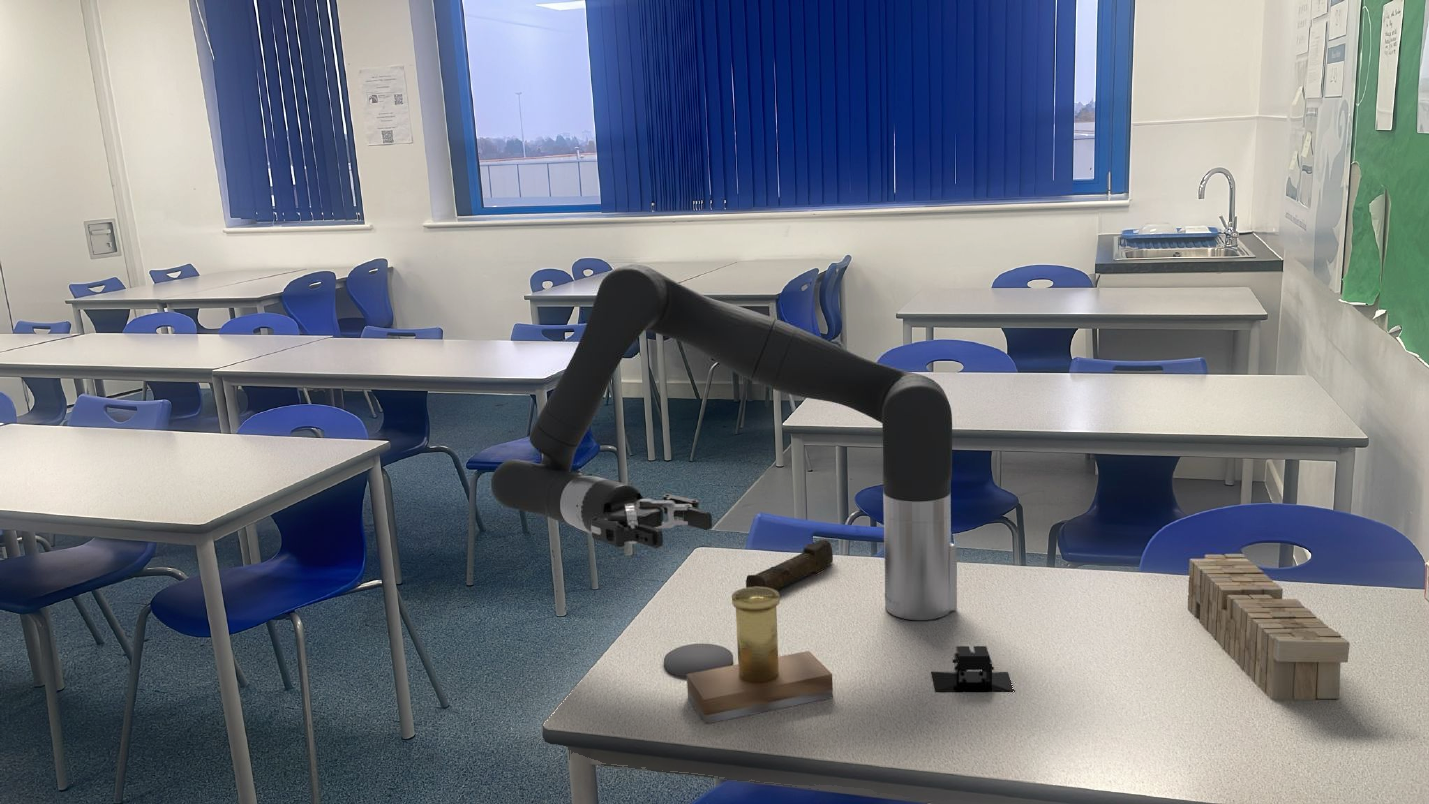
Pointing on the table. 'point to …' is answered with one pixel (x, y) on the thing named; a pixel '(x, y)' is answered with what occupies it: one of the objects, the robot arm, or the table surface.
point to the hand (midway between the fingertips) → (685, 530)
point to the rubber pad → (697, 659)
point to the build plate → (971, 674)
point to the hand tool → (795, 567)
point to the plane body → (758, 688)
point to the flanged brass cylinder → (757, 633)
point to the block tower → (1265, 629)
